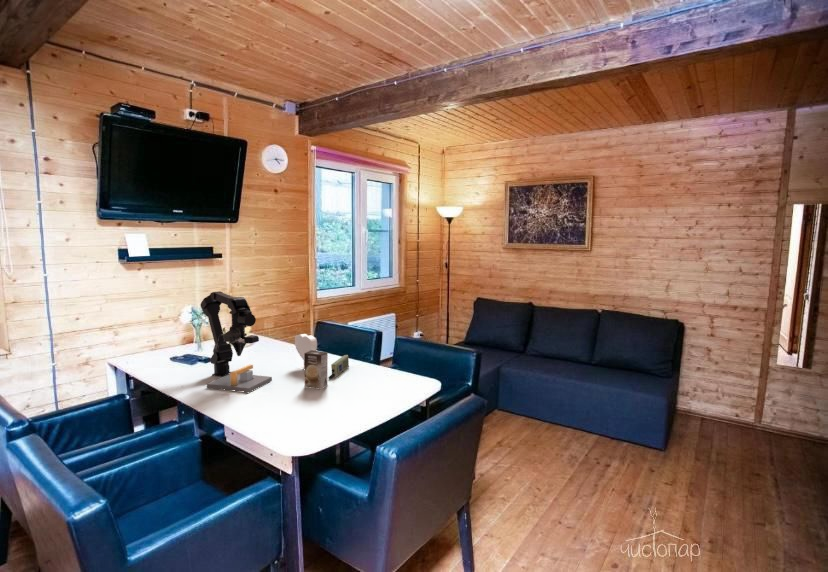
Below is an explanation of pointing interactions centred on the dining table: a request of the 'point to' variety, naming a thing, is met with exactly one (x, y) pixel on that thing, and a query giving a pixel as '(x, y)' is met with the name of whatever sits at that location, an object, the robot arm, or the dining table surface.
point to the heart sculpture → (305, 344)
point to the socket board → (239, 383)
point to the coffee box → (315, 369)
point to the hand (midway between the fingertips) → (239, 355)
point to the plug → (246, 375)
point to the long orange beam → (239, 371)
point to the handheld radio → (339, 366)
